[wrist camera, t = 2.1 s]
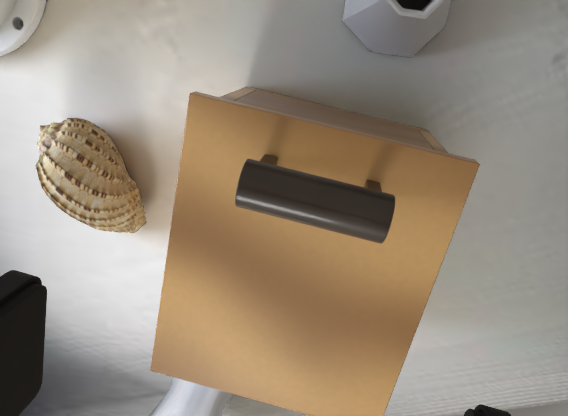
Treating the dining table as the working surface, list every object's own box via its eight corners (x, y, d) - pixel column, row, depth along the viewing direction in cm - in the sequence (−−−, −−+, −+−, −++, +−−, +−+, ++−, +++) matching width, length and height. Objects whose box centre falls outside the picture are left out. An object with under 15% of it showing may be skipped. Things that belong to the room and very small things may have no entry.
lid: (194, 91, 23) (145, 106, 17) (476, 159, 22) (516, 198, 16) (155, 362, 28) (109, 437, 23) (375, 423, 28) (381, 516, 22)
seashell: (174, 155, 40) (58, 92, 35) (175, 193, 35) (41, 126, 30) (128, 219, 43) (14, 168, 38) (124, 261, 38) (-7, 210, 33)
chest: (246, 86, 34) (192, 107, 23) (428, 130, 34) (469, 175, 22) (212, 270, 40) (155, 361, 28) (368, 311, 39) (375, 423, 28)
